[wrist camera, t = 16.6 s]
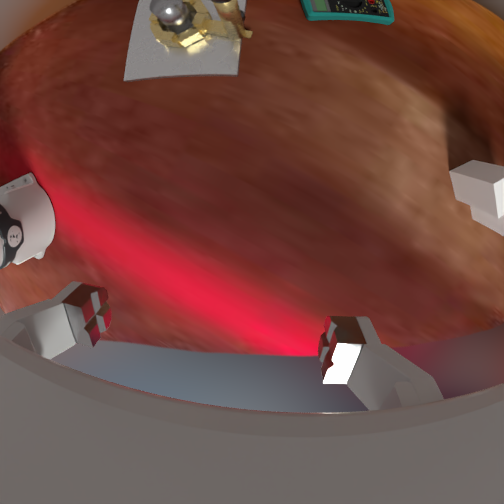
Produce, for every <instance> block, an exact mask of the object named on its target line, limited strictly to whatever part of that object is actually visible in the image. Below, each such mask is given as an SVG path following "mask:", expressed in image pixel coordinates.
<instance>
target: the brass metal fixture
mask: <svg viewBox="0 0 504 504" xmlns="http://www.w3.org/2000/svg"><path fill="white" fill-rule="evenodd" d="M182 1H183V2H184V4H185V5H186V6H187V8H188V9H189V11H197V13H196V15H195V17H194V19H193V21H192V24H193V25H194V26H193V27H192V28H190V29H188V30H186V31H184V32H182V33H181V34H179V35H177V34H176V33H175V32H166V31H165V30H164V28H165V26H166V25H165V24H164V23H162V22H161V21H160V20H159V19H158V18H157V17H156V16H155V15H154V14H153V13H151V15H150V18H149V21H151V23H150V26H151V27H150V29H151V31H152V33H153V34H154V36H155V38H156V40H157V41H159V42H160V43H161V44H162V45H164V46H170V47H178V48H182V47H183V46H184V47H187V46H189V45H190V44H192V43H194V42H196V41H198V40H200V39H202V38H203V37H202V35H203V36H205V35H206V33H209V34H215V35H220V36H225V37H229V38H230V39H232V40H239V39H242V38H243V37H244V36H245V28H244V24H243V20H242V16H241V12H240V8H239V5H238V1H237V0H211V1H212V2H213V4H214V6H215V8H216V10H217V13H218V15H219V17H220V19H221V21H217V20H212V19H211V18H212V17H211V15H210V13H209V11H208V10H207V8H206V7H205V6H204V4H203V3H202V1H201V0H182Z"/></svg>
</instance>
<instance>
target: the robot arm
mask: <svg viewBox="0 0 504 504" xmlns="http://www.w3.org/2000/svg"><path fill="white" fill-rule="evenodd" d="M54 233H55V216H54V211H53V207H52V204H51V202H50V199H49V197H48V196H47V194H46V192H45V191H44V190H43V189H42V188H41V187H40V186H39V185H38V183H37V181H36V179H35V177H34V175H33V174H32V173H28V174H26V175H24V176H22V177H20V178H17V179H15V180H13V181H11V182H9V183H7V184H5V185H3V186H1V187H0V269H2V268H4V267H6V266H8V265H9V264H10V263H11V262H13V263H15V264H17V265H18V264H20V263H22V262H24V261H26V260H28V259H30V258H32V257H35V258H37V259H40V258H42V257H43V256H44V253H45V249H46V248H47V247H48V246H49V244H50V243H51V242H52V240H53V237H54ZM107 300H108V293H107V290H106V289H105V288H104V287H100V286H95V285H91V284H86V283H82V282H77V281H72V282H71V283H70V284H69V285H68V286H67V287H65V288H64V289H63V290H62V291H61V292H60V293H59V294H57V295H56V296H55V297H54V298H53V299H52V300H50V299H48V300H45V301H42V302H39V303H36V304H33V305H30V306H27V307H24V308H21V309H18V310H15V311H12V312H9V313H7V314H4V315H3V316H2V317H1V318H0V504H504V383H503V384H500V385H497V386H494V387H491V388H488V389H484V390H481V391H477V392H474V393H470V394H466V395H462V396H458V397H454V398H450V399H445V400H444V398H443V396H442V394H441V392H440V390H439V388H438V386H437V384H436V382H435V380H434V378H433V377H432V376H430V375H429V374H427V373H426V372H424V371H423V370H421V369H420V368H419V367H417V366H416V365H414V364H413V363H411V362H410V361H408V360H407V359H406V358H404V357H403V356H401V355H400V354H398V353H397V352H395V351H394V350H393V349H391V348H390V347H388V346H387V345H385V344H381V342H380V340H379V338H378V336H377V334H376V331H375V329H374V327H373V325H372V323H371V321H370V319H369V318H368V317H346V316H327V318H326V319H325V323H324V328H325V332H324V333H323V334H322V335H321V337H320V341H319V347H318V356H319V360H320V361H321V362H322V363H323V364H322V367H321V373H322V378H323V383H347V386H348V387H349V388H350V389H351V390H352V391H353V393H354V394H355V395H356V396H357V397H358V398H359V399H360V400H361V401H362V402H363V404H364V405H365V406H366V407H367V408H368V409H369V410H370V411H359V412H339V413H290V412H271V411H257V410H246V409H237V408H229V407H221V406H214V405H208V404H201V403H195V402H190V401H185V400H180V399H175V398H169V397H165V396H161V395H157V394H152V393H148V392H144V391H140V390H137V389H133V388H129V387H126V386H122V385H119V384H116V383H112V382H109V381H106V380H103V379H100V378H97V377H94V376H91V375H88V374H85V373H82V372H80V371H77V370H74V369H72V368H69V367H67V366H64V365H61V364H59V363H57V362H54V361H52V360H50V359H51V358H53V357H55V356H56V355H58V354H60V353H62V352H63V351H65V350H66V349H68V348H70V347H72V346H73V345H75V344H76V343H78V344H82V345H85V346H89V347H92V348H93V347H94V346H95V345H96V343H97V342H98V341H99V339H100V338H101V334H100V333H101V332H103V331H106V330H107V328H108V327H109V326H110V322H111V308H110V306H109V305H108V304H107V302H106V301H107Z"/></svg>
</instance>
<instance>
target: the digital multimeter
mask: <svg viewBox="0 0 504 504" xmlns="http://www.w3.org/2000/svg"><path fill="white" fill-rule="evenodd" d="M300 1H301V4H302V7H303V10H304V13H305V16H306V18H307V20H310V21H313V20H356V21H366V22H374V23H380V24H386V25H390V24H391V23H392V22H393V21H394V13H393V8H392V5H391V2H390V0H300ZM337 12H339V13H337ZM355 13H356V14H355ZM366 14H367V15H366ZM375 15H376V16H375ZM383 16H384V17H383Z"/></svg>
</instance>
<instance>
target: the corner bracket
mask: <svg viewBox="0 0 504 504" xmlns="http://www.w3.org/2000/svg"><path fill="white" fill-rule="evenodd" d="M449 173H450V177H451V180H452V185H453V189H454V193H455V198H456V200H459V201H461V202H463V203H466V204H468V205H470V207H471V213H472V219H473V220H475V221H477V222H479V223H481V224H483V225H485V226H487V227H488V228H490V229H492V230H494V231H495V232H497V233H499V234H501V235H502V236H504V167H503V166H499V165H494V164H490V163H486V162H481V161H476V160H471V161H469V162H467V163H465V164H463V165H461V166H459V167H457V168H455V169H452V170H450V171H449Z"/></svg>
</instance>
